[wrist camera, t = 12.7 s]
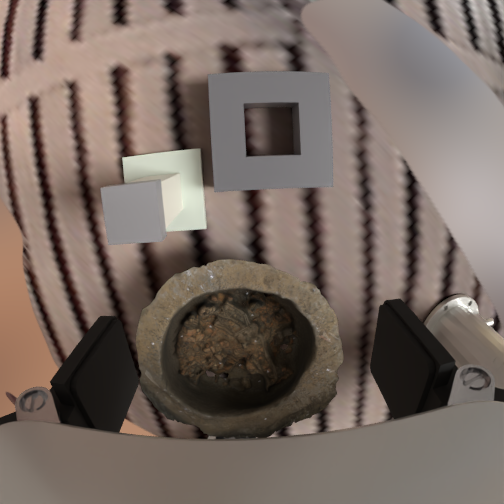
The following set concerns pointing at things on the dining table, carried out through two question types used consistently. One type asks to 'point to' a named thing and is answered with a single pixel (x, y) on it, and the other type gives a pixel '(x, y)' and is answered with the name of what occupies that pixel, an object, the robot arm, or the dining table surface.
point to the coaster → (191, 182)
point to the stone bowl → (238, 349)
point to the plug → (141, 208)
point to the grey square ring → (304, 130)
